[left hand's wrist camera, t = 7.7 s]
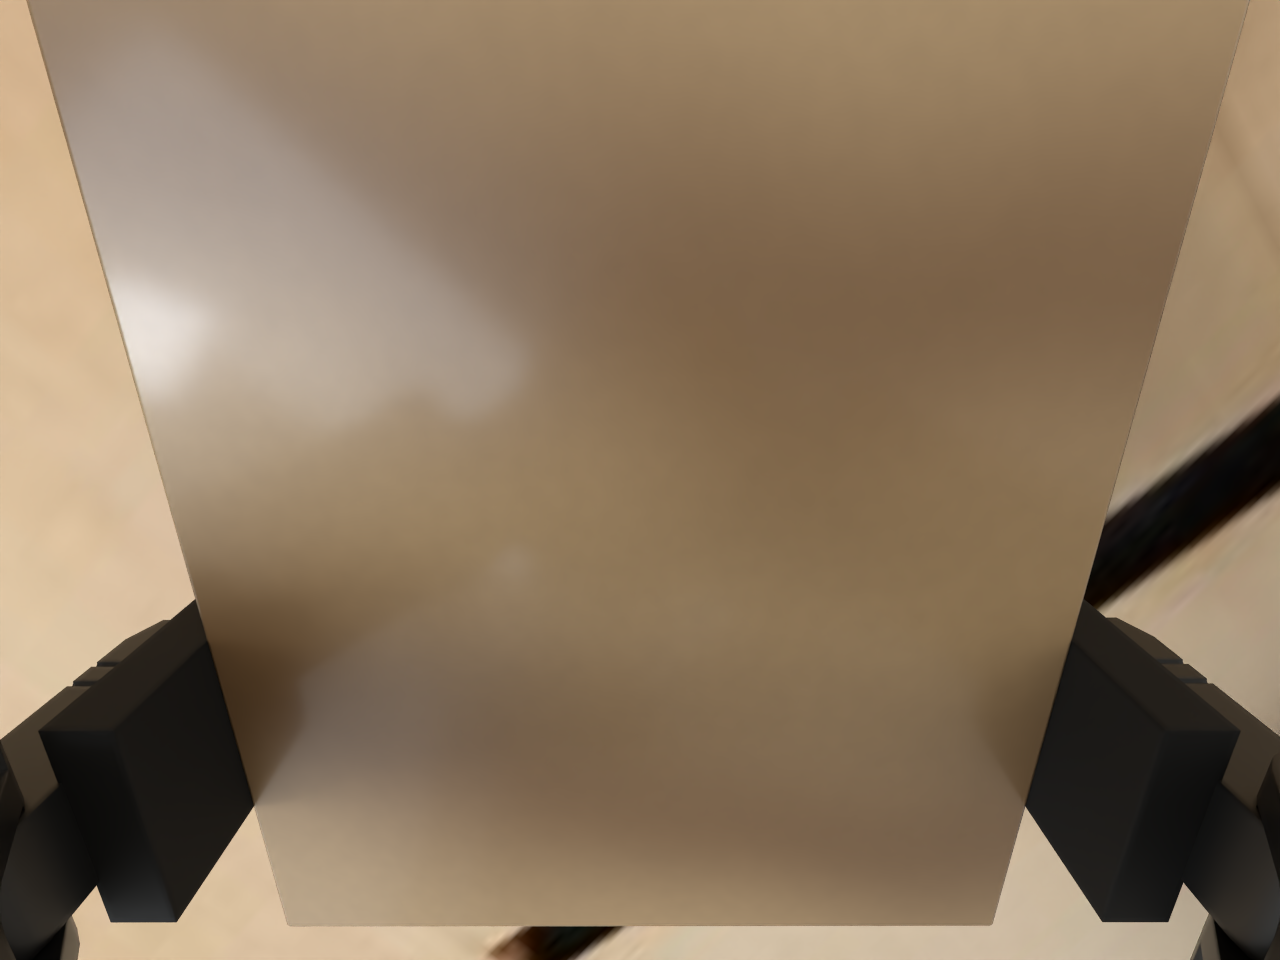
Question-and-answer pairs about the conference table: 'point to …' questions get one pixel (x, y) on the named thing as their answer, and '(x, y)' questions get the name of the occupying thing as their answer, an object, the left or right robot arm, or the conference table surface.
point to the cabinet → (638, 421)
